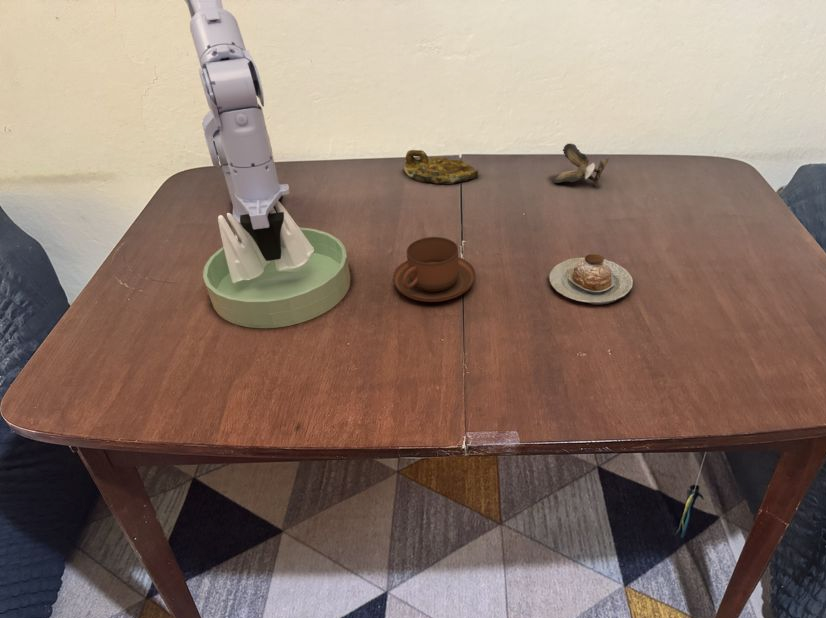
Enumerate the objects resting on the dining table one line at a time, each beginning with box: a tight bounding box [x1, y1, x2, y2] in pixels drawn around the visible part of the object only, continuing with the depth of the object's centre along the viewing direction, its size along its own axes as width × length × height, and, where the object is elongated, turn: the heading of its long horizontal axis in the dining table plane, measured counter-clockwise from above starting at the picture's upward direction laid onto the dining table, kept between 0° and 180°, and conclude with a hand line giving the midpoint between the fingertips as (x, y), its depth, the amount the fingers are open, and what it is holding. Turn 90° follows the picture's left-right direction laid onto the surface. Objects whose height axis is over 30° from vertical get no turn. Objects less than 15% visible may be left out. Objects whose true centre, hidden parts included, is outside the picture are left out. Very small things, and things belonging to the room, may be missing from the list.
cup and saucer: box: [392, 236, 476, 303], centre depth 93 cm, size 12×12×6 cm
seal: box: [403, 149, 479, 185], centre depth 124 cm, size 9×5×15 cm
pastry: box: [548, 253, 634, 306], centre depth 92 cm, size 12×12×5 cm
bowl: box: [202, 226, 352, 329], centre depth 94 cm, size 20×20×4 cm
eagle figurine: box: [551, 143, 610, 188], centre depth 118 cm, size 8×7×9 cm
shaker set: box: [217, 201, 314, 283], centre depth 90 cm, size 12×4×11 cm, turn 99°
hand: (273, 250), depth 91 cm, fingers closed on shaker set, 4 cm apart
